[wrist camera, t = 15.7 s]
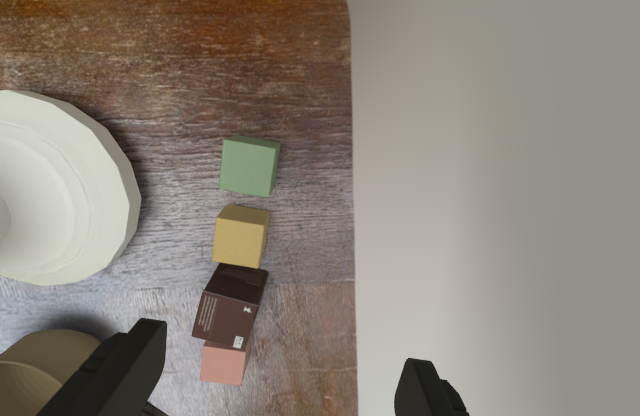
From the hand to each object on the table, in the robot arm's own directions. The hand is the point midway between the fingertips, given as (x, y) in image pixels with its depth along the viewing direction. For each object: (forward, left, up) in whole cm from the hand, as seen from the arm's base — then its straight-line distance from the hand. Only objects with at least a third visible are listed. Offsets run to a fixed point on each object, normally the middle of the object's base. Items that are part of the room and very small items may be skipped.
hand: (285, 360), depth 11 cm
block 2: (+6, +7, -28) cm, 30 cm away
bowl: (+25, +28, -28) cm, 47 cm away
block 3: (+6, +23, -28) cm, 37 cm away
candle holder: (+27, +6, -28) cm, 39 cm away
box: (+6, +15, -28) cm, 33 cm away
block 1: (+6, -1, -28) cm, 29 cm away
